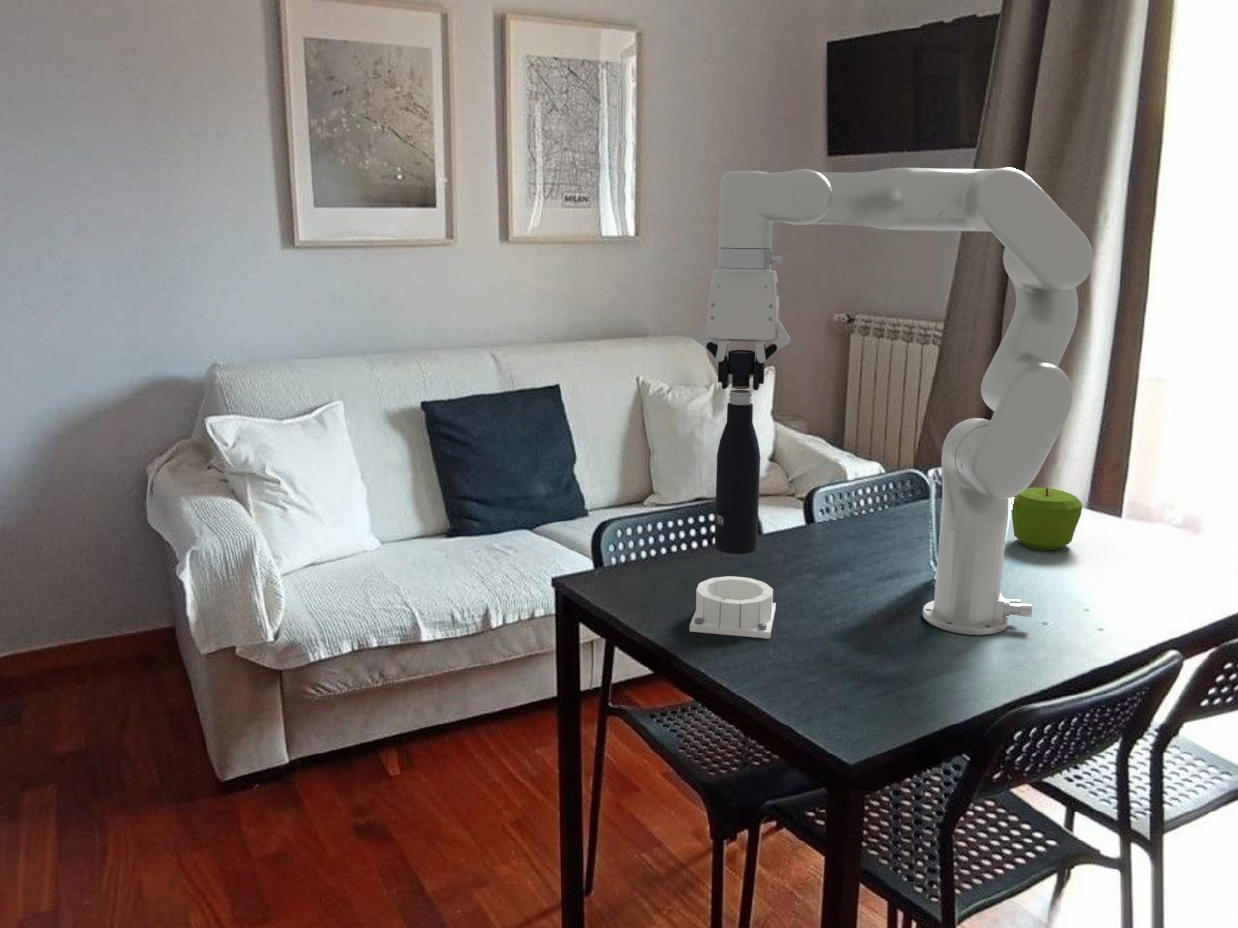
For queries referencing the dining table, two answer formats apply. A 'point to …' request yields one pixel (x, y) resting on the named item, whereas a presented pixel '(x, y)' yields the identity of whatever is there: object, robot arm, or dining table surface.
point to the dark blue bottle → (738, 465)
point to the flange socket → (734, 607)
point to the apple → (1045, 517)
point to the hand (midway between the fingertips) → (740, 386)
